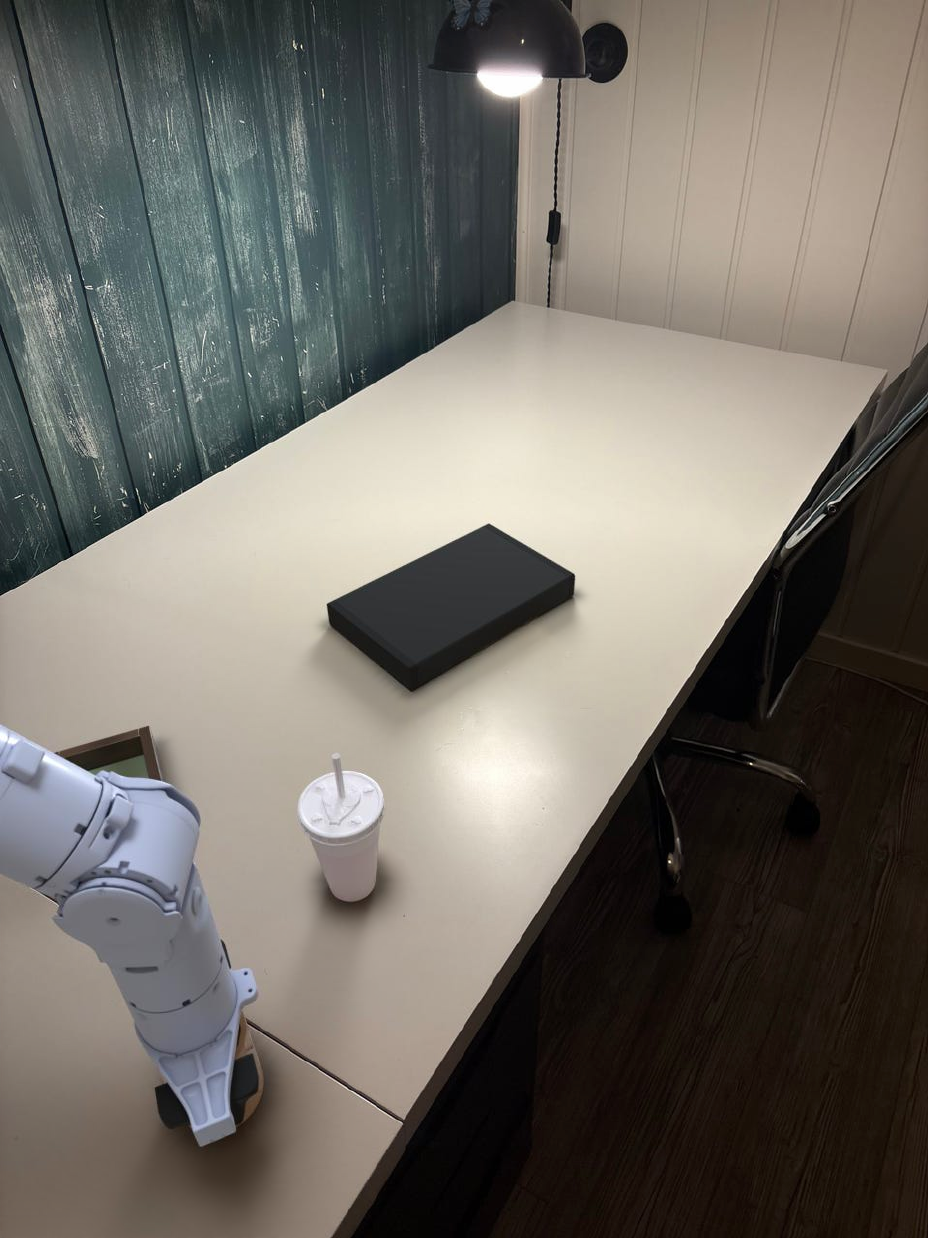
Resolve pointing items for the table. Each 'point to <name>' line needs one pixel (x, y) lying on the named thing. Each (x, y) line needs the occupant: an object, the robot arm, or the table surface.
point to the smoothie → (344, 829)
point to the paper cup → (242, 1049)
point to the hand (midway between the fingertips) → (216, 1078)
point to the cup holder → (119, 755)
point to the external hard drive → (449, 604)
